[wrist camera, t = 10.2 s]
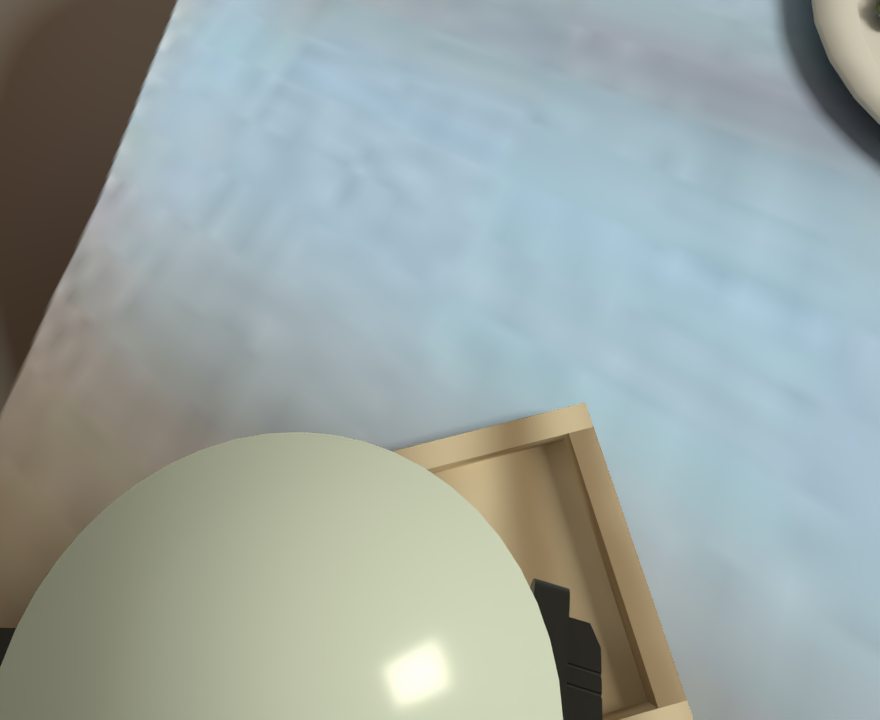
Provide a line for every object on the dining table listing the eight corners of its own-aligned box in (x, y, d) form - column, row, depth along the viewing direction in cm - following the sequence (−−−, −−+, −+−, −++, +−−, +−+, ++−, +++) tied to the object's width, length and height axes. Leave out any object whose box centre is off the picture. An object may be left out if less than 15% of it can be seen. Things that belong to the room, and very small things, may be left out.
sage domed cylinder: (463, 501, 19) (476, 379, 8) (520, 720, 17) (649, 991, 6) (267, 551, 19) (-22, 501, 7) (302, 780, 17) (-24, 1201, 5)
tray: (575, 415, 32) (585, 402, 29) (677, 720, 27) (698, 733, 25) (183, 515, 31) (161, 509, 28) (220, 850, 26) (196, 877, 24)
